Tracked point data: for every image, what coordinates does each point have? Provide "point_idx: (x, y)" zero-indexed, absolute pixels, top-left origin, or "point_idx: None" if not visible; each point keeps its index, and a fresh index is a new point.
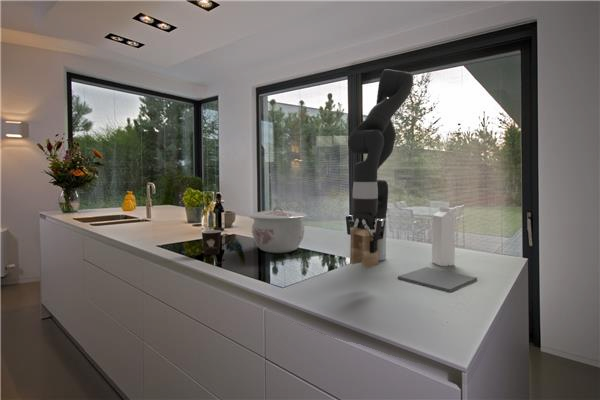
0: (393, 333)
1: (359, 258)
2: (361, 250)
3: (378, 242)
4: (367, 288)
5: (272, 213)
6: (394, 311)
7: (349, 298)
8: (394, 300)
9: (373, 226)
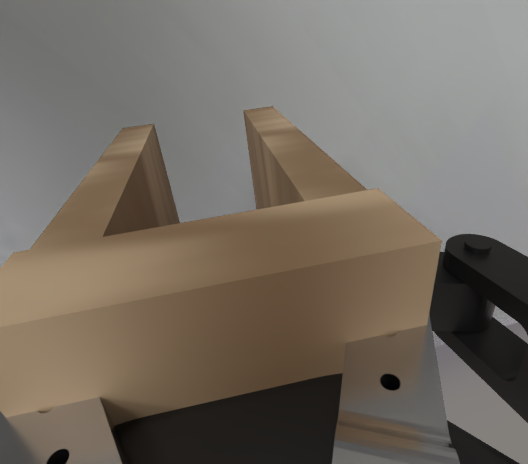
0: None
1: (171, 210)
2: (160, 216)
3: (327, 155)
4: (238, 146)
5: None
6: (457, 225)
7: None
8: (408, 154)
9: (409, 391)
